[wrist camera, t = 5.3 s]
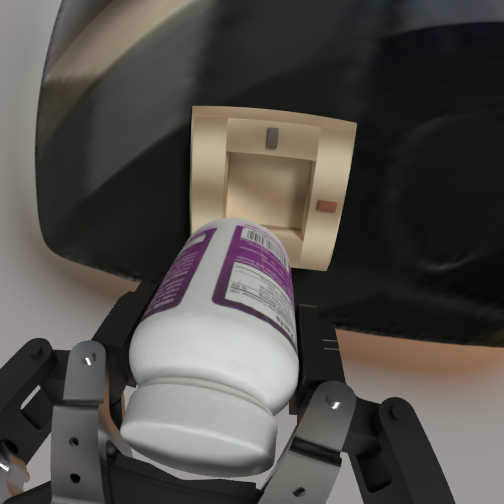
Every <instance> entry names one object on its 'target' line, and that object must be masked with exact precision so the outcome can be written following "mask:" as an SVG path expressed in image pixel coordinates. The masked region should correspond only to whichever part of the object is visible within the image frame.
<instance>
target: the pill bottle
mask: <svg viewBox="0 0 504 504" xmlns="http://www.w3.org/2000/svg"><path fill="white" fill-rule="evenodd" d="M129 362H130V367H131V371H132V374H133V376H134V379H135V381H136V383H137V384H138V386H139V387H138V389H137V390H136V391H135V392H134V393H133V394H132V396H131V397H130V400H129V403H128V406H127V409H126V412H125V415H124V418H123V421H122V424H121V428H120V433H121V436H122V438H123V439H124V441H125V442H126V443H127V444H128V445H129V446H130V447H132V448H133V449H134V450H135V451H137V452H139V453H140V454H142V455H144V456H145V457H147V458H150V459H152V460H153V461H156V462H158V463H160V464H163V465H165V466H168V467H171V468H174V469H177V470H181V471H185V472H190V473H193V474H199V475H205V476H212V477H228V478H230V477H246V476H252V475H257V474H260V473H263V472H265V471H267V470H269V469H270V468H271V467H272V466H273V463H274V458H275V446H276V435H277V431H278V430H277V428H278V427H277V423H276V421H275V420H274V418H273V416H275V415H276V414H278V413H279V412H280V411H281V410H282V409H283V408H284V407H285V406H286V405H287V404H288V403H289V401H290V400H291V399H292V397H293V395H294V393H295V391H296V388H297V384H298V378H299V370H300V368H299V359H298V350H297V336H296V321H295V310H294V298H293V287H292V278H291V269H290V262H289V258H288V255H287V253H286V250H285V249H284V247H283V245H282V243H281V242H280V240H279V239H278V238H277V237H276V236H275V235H274V234H273V233H272V232H271V231H269V230H268V229H267V228H265V227H263V226H261V225H259V224H257V223H254V222H252V221H249V220H245V219H241V218H223V219H218V220H215V221H212V222H210V223H207V224H205V225H204V226H202V227H200V228H199V229H198V230H196V231H195V232H194V233H193V234H192V235H191V237H190V238H189V239H188V241H187V242H186V244H185V245H184V247H183V248H182V250H181V251H180V253H179V255H178V256H177V258H176V260H175V261H174V263H173V264H172V266H171V267H170V269H169V271H168V272H167V274H166V276H165V278H164V279H163V281H162V283H161V285H160V287H159V288H158V290H157V292H156V294H155V296H154V297H153V299H152V301H151V303H150V304H149V306H148V308H147V310H146V312H145V313H144V315H143V317H142V319H141V321H140V323H139V324H138V326H137V327H136V329H135V332H134V334H133V337H132V340H131V344H130V349H129Z"/></svg>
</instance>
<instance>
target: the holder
mask: <svg viewBox="0 0 504 504" xmlns="http://www.w3.org/2000/svg"><path fill="white" fill-rule="evenodd" d="M356 127H357V123H353V122H348V121H343V120H338V119H333V118H327V117H321V116H315V115H309V114H302V113H295V112H287V111H278V110H268V109H257V108H243V107H222V106H193V107H192V127H191V154H190V237H191V235H192V234H193V233H194V232H195V231H196V230H198V229H199V228H200V227H202V226H204V225H205V224H207V223H210V222H212V221H215V220H218V219H223V218H241V219H245V220H249V221H252V222H254V223H257V224H259V225H261V226H263V227H265V228H267V229H268V230H269V231H271V232H272V233H273V234H274V235H275V236H276V237H277V238H278V239H279V240H280V242H281V243H282V245H283V247H284V249H285V250H286V253H287V255H288V258H289V262H290V267H293V268H302V269H312V270H322V271H327V268H328V265H330V261H331V257H332V253H333V248H334V244H335V240H336V236H337V231H338V227H339V222H340V218H341V213H342V208H343V203H344V198H345V193H346V188H347V182H348V177H349V171H350V166H351V160H352V153H353V147H354V141H355V134H356Z"/></svg>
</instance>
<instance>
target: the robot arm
mask: <svg viewBox="0 0 504 504" xmlns="http://www.w3.org/2000/svg"><path fill="white" fill-rule="evenodd" d="M159 287H160V284H155V283H150V282H144V281H143V282H141V283H140V285H139V286H138V288H137V289H136V291H135V292H131V291H129V292H128V293H126V294H125V295H123V296H122V297H120V298H119V300H118V301H117V302H116V304H115V305H114V308H112V310H111V311H110V313H109V315H107V317H106V318H105V320H104V321H103V323H102V324H101V326H100V327H99V329H98V330H97V332H96V333H95V335H94V336H93V338H92V339H91V340H89V341H83V342H80V343H78V344H77V345H75V346H74V347H73V348H72V350H69V351H68V350H53V349H52V347H51V345H50V343H49V342H48V341H47V340H46V339H43V338H36V339H32V340H30V341H28V342H27V343H26V344H25V345H24V346H23V347H22V348H21V349H20V350H19V351H18V352H17V353H16V354H15V355H14V356H13V357H12V358H11V359H10V360H9V361H8V362H7V363H6V364H5V365H4V366H3V367H2V368H1V369H0V504H325V503H326V501H327V499H328V497H329V494H330V492H331V490H332V487H333V485H334V482H335V480H336V477H337V475H338V472H339V469H340V467H341V463H342V458H340V452H341V451H342V452H346V453H348V455H349V458H350V461H351V465H352V468H353V471H354V474H355V477H356V480H357V483H358V486H359V489H360V493H361V496H362V499H363V502H364V504H455V501H454V499H453V496H452V493H451V491H450V488H449V486H448V483H447V481H446V479H445V476H444V474H443V471H442V469H441V467H440V464H439V462H438V460H437V457H436V455H435V453H434V451H433V449H432V447H431V444H430V442H429V440H428V438H427V436H426V434H425V432H424V430H423V428H422V425H421V423H420V421H419V419H418V417H417V415H416V413H415V411H414V409H413V408H412V406H411V405H410V404H409V403H408V402H407V401H406V400H404V399H402V398H398V397H391V398H388V399H386V400H384V401H383V402H382V404H378V403H374V402H370V401H367V400H363V399H361V398H359V397H357V396H356V395H355V393H354V391H353V390H352V389H351V388H350V387H349V386H348V385H346V382H345V377H344V372H343V366H342V361H341V356H340V351H339V346H338V342H337V336H336V332H335V329H334V327H333V326H332V325H331V323H330V322H329V321H328V320H321V319H319V314H318V308H317V306H311V305H301V304H298V305H297V308H296V311H295V321H296V336H297V350H298V359H299V368H300V370H299V378H298V384H297V388H296V391H295V393H294V395H293V397H292V399H291V400H290V401H289V414H290V415H297V425H296V427H295V429H294V431H293V433H292V435H291V437H290V439H289V441H288V442H287V445H286V446H285V448H284V450H283V452H282V454H281V456H280V458H279V459H278V461H277V463H276V465H275V467H274V468H273V470H272V472H271V473H270V475H269V476H268V478H267V479H266V481H265V483H264V484H263V486H262V488H261V489H260V490H259V489H256V483H253V482H242V481H233V480H225V479H208V480H182V479H179V478H177V477H175V476H173V475H171V474H169V473H167V472H165V471H163V470H161V469H159V468H157V467H155V466H153V465H152V464H150V463H147V462H144V461H140V460H137V459H134V458H133V455H132V451H131V448H130V446H129V445H128V444H127V443H126V442H125V441H124V439H123V438H122V436H121V433H120V428H121V424H122V421H123V418H124V415H125V400H124V394H123V391H124V389H125V387H126V385H128V386H131V387H134V388H135V387H136V385H137V383H136V381H135V379H134V376H133V374H132V371H131V367H130V362H129V349H130V344H131V340H132V337H133V334H134V332H135V329H136V327H137V326H138V324H139V323H140V321H141V319H142V317H143V315H144V313H145V312H146V310H147V308H148V306H149V304H150V303H151V301H152V299H153V297H154V296H155V294H156V292H157V290H158V288H159ZM38 385H39V386H40V388H41V389H40V390H39V391H38V392H37V393H36V394H35V395H34V397H33V398H32V399H31V400H30V401H29V403H28V404H27V405H26V406H25V407H24V408H23V409H21V410H20V408H21V405H22V403H23V402H24V401H25V400H26V398H27V397H28V396H29V395H30V394H31V393H32V391H33V390H34V389H35V388H36V387H37V386H38ZM50 433H51V481H48V482H46V483H44V484H42V485H39V486H37V487H35V488H33V489H30V490H28V491H25V492H23V484H24V482H28V481H29V479H30V475H29V473H28V472H27V469H26V465H27V464H28V462H29V461H30V459H31V458H32V456H33V455H34V454H35V452H36V451H37V450H38V449H39V447H40V446H41V444H42V443H43V442H44V440H45V439H46V438H47V436H48V435H49V434H50Z"/></svg>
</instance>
